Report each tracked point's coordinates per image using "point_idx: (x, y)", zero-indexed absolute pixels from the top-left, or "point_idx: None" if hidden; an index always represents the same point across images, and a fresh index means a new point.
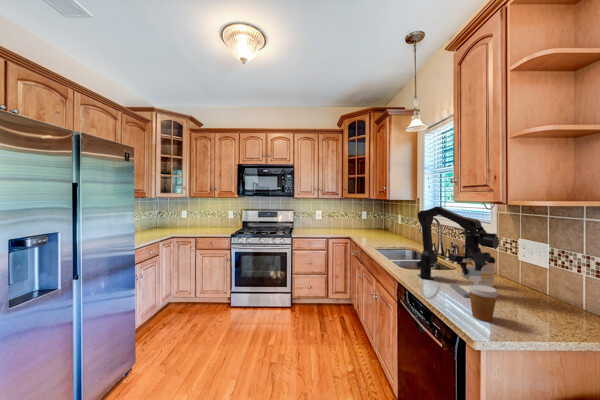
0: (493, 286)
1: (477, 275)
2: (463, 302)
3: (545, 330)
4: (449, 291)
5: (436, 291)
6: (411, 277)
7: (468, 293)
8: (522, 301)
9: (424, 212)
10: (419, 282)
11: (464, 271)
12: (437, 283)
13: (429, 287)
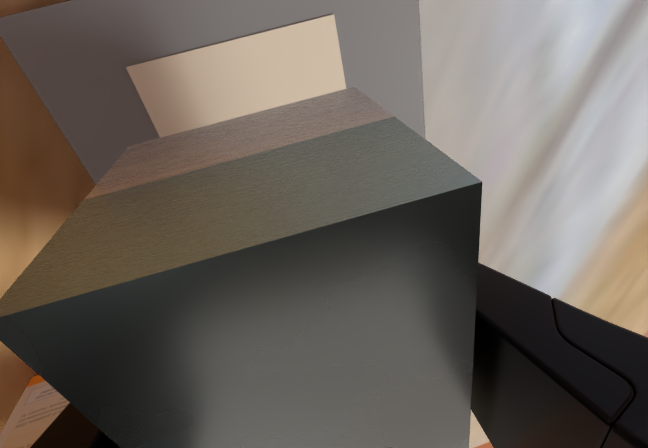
0: (32, 380)
1: (177, 177)
2: None
3: None
4: (483, 92)
5: (623, 35)
6: (621, 305)
7: None
8: None
9: None
10: (629, 228)
11: (482, 271)
12: (492, 265)
13: (621, 135)
